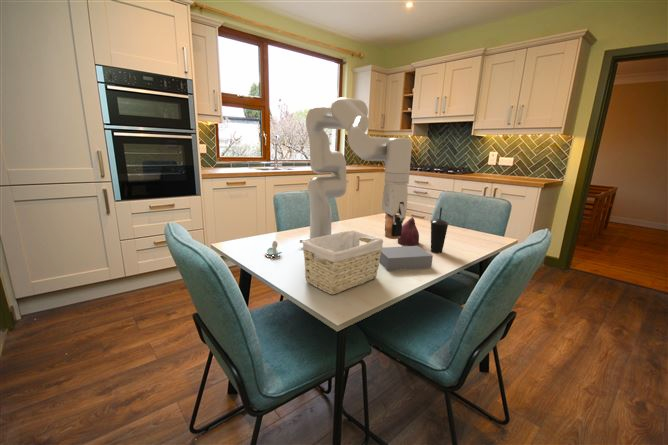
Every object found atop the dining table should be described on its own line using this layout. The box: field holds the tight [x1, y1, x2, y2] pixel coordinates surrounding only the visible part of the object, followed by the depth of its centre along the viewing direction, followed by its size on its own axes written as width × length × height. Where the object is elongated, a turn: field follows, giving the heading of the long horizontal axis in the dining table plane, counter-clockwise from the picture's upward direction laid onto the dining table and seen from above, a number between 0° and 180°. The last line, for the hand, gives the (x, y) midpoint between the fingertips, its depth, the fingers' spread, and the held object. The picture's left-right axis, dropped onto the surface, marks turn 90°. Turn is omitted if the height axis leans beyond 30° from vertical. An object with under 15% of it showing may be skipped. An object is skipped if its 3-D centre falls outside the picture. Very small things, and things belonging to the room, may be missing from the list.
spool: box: [384, 214, 400, 240], centre depth 101 cm, size 5×5×7 cm
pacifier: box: [264, 240, 283, 258], centre depth 127 cm, size 7×6×6 cm
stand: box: [379, 245, 433, 272], centre depth 122 cm, size 18×12×5 cm, turn 102°
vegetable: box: [397, 216, 420, 246], centre depth 146 cm, size 10×10×15 cm
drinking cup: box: [430, 207, 450, 254], centre depth 135 cm, size 8×8×20 cm
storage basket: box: [302, 230, 384, 295], centre depth 104 cm, size 24×16×15 cm
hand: (392, 233), depth 102 cm, fingers closed on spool, 5 cm apart
